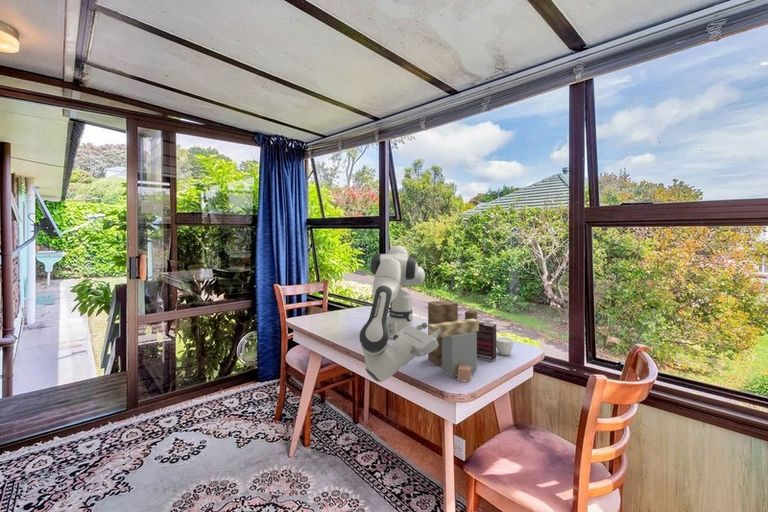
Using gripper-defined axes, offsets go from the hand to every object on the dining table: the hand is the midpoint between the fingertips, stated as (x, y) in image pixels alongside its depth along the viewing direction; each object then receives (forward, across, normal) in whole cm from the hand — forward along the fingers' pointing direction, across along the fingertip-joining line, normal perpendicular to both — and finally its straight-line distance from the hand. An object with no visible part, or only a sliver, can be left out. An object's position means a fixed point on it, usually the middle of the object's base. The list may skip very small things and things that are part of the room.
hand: (432, 327), depth 128 cm
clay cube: (-1, -6, +23) cm, 24 cm away
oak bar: (+7, 0, +9) cm, 11 cm away
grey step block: (+1, 0, +24) cm, 24 cm away
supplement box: (+18, +6, +33) cm, 38 cm away
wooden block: (+19, +20, +34) cm, 44 cm away
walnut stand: (+2, +12, +24) cm, 27 cm away
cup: (+29, +8, +40) cm, 50 cm away
